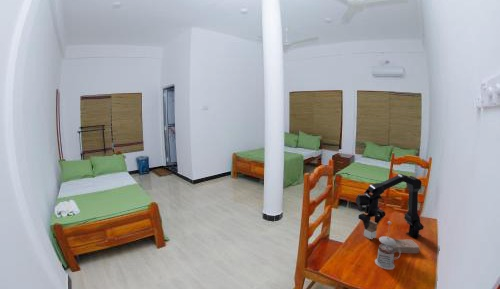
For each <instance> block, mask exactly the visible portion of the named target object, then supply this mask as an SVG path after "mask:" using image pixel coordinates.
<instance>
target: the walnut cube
mask: <svg viewBox="0 0 500 289" xmlns="http://www.w3.org/2000/svg"><path fill="white" fill-rule="evenodd" d="M367 230H368V231H370V232H374V231H376V232H377V230H378V225H377V223H376V222H375V220H374V221H373V220H371V219H370V224H369V226H368V228H367Z"/></svg>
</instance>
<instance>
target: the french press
mask: <svg viewBox="0 0 500 289" xmlns="http://www.w3.org/2000/svg"><path fill="white" fill-rule="evenodd" d="M387 224H388V227H390V225H392V221H390V220H388V221H387ZM389 230H390V229H388V231H387V235H389V234H390V233H389V232H390V231H389ZM393 239H394V238H392V237H389V236H380V237H379V238H378V240H379V242H380V243H381V244H379V246H378V250H377V258H375V259H374V263H375V264H376V265H377V267H379V268H382V269H383V270H384V269H385V270H394V269H395V268H396V266H395V263H394V262H395V259H396V260H398V259H399V258H400V257H401V250H400V251H399V252H400V253H399V255H398V256H395V252H394V249H395V247H396V246H397V245H395V244H396V242H395V240H393ZM393 245H395V247H394V248H393V247H392V246H393ZM397 247H398V246H397ZM397 247H396V248H397ZM398 248H399V247H398ZM398 248H397V249H398ZM399 249H400V248H399ZM399 249H398V250H399Z"/></svg>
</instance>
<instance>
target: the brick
mask: <svg viewBox="0 0 500 289" xmlns="http://www.w3.org/2000/svg"><path fill="white" fill-rule="evenodd" d="M392 239H393V240H395V242H396V244H395V245H397V246H398V247H399V248H400V249H399V248H398V247H397V246H396V247H397V248H398V249H399V250H398V249H397V248H396V247H395V245H393V246H392V247H393V248H394V247H395V249H394V253H398V254H400V252H399V251H400V250H401V253H403V254H419V253H420V246H419V245H418V243H416V242H415V241H414V240H413V239H406V238H405V239H397V238H392Z"/></svg>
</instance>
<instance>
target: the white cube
mask: <svg viewBox="0 0 500 289" xmlns="http://www.w3.org/2000/svg"><path fill="white" fill-rule="evenodd" d="M363 236H364V237H365V238H367V239H369V240H370V239H371V240H373V238H374V239H375V238H377V231H374V232H370V231H368V230H366V229H365V228H364V232H363Z"/></svg>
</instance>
